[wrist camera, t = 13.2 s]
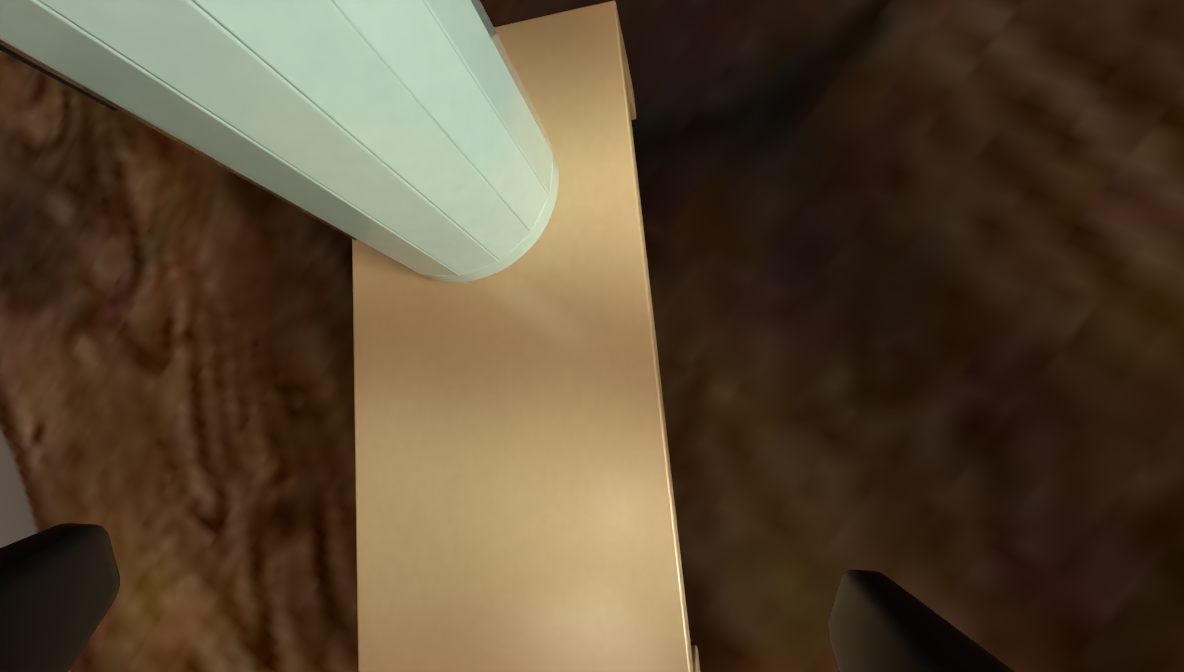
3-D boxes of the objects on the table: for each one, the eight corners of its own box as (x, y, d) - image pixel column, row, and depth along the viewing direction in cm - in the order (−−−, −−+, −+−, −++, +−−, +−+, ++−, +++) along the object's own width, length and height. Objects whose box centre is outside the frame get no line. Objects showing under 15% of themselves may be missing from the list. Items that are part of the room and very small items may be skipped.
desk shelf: (702, 686, 17) (702, 774, 13) (439, 691, 19) (358, 771, 14) (633, 89, 21) (615, -1, 16) (418, 132, 22) (348, 59, 18)
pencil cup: (502, 315, 15) (-369, -195, 3) (343, 238, 17) (-725, -340, 4) (593, 136, 16) (172, -1009, 3) (430, 74, 17) (-312, -905, 5)
